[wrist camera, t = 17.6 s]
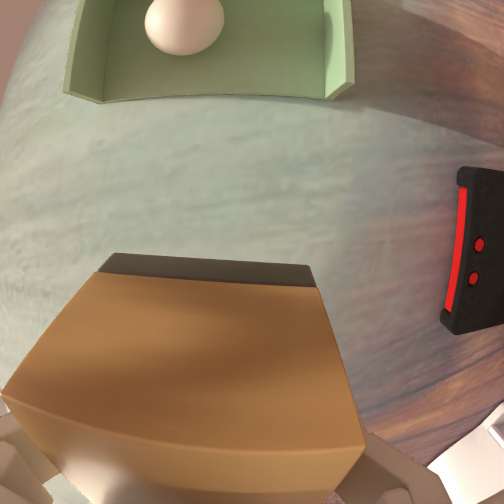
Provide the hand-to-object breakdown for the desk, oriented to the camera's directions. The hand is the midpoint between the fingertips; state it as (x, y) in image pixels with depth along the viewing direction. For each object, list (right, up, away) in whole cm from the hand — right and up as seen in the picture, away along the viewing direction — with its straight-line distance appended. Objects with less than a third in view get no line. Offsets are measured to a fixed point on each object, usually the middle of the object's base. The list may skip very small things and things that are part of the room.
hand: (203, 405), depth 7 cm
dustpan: (0, +16, +3) cm, 16 cm away
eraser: (0, 0, +1) cm, 1 cm away
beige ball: (-1, +13, +2) cm, 14 cm away
